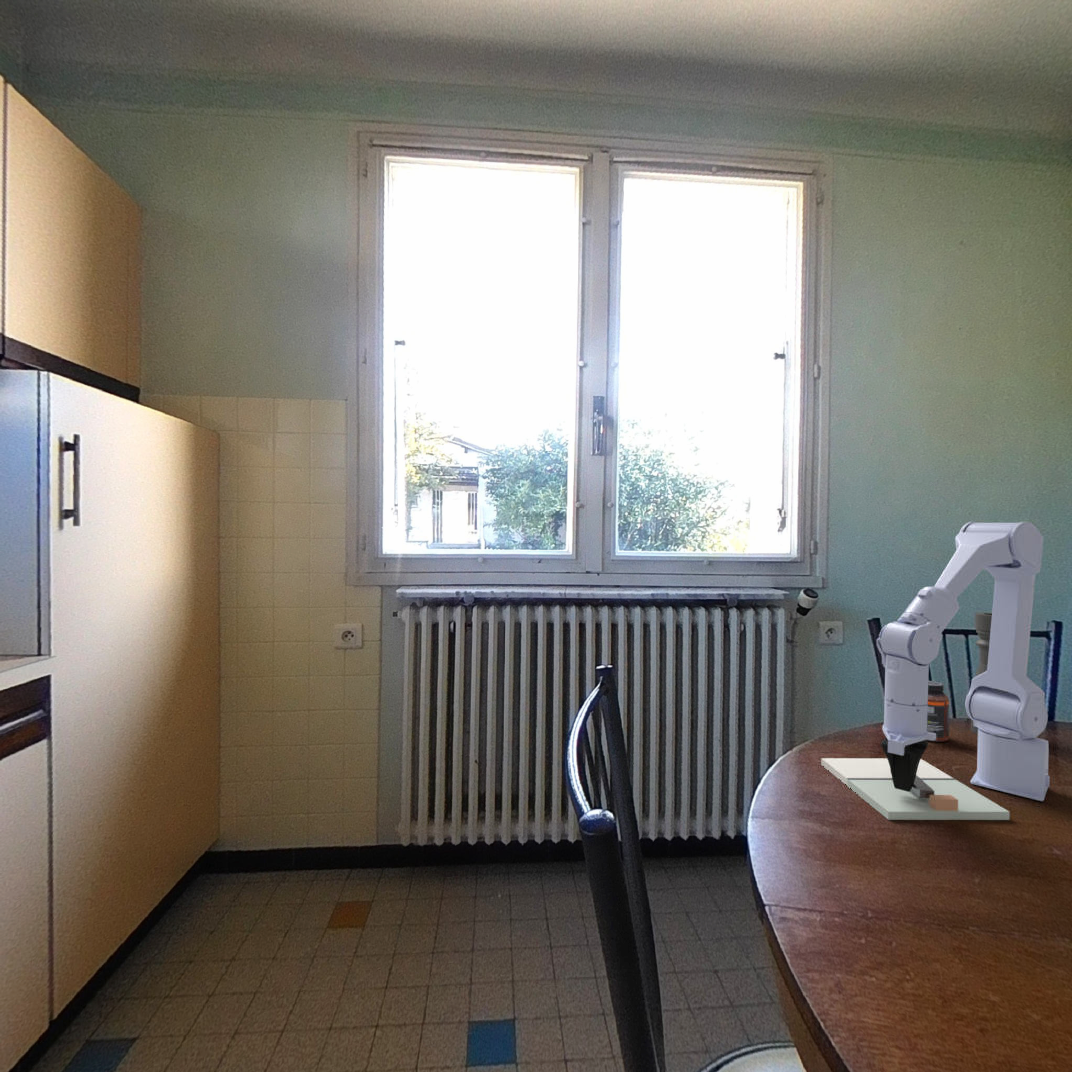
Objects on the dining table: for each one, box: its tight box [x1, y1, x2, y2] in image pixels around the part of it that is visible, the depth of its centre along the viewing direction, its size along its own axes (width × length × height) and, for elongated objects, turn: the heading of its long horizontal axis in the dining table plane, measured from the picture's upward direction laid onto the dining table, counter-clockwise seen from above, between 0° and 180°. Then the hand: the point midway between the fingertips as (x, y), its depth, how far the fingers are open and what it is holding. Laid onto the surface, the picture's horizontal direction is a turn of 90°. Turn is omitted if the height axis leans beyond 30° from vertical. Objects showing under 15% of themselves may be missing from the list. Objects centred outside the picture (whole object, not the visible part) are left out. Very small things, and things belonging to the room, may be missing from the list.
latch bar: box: [890, 769, 934, 798], centre depth 98 cm, size 11×3×1 cm, turn 171°
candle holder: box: [970, 611, 1010, 735], centre depth 128 cm, size 6×6×25 cm
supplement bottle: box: [927, 680, 950, 743], centre depth 125 cm, size 6×6×11 cm
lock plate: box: [820, 757, 1011, 821], centre depth 100 cm, size 18×20×3 cm
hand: (903, 787), depth 95 cm, fingers closed
